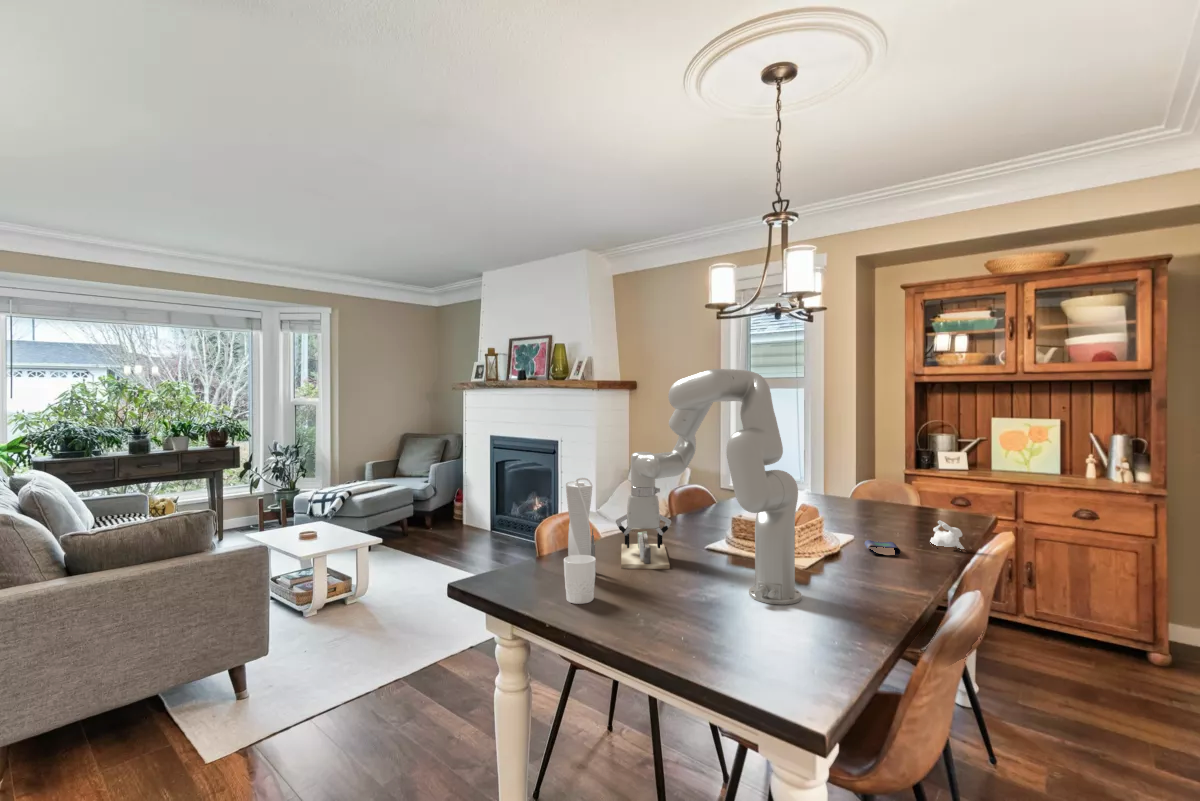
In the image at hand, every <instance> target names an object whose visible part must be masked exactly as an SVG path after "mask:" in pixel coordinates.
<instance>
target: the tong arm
mask: <svg viewBox="0 0 1200 801" xmlns="http://www.w3.org/2000/svg"><path fill="white" fill-rule="evenodd" d="M637 544H638V548H639V556H640V561H644V542H643V531H640V532H639V531H638V532H637Z"/></svg>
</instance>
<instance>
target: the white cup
mask: <svg viewBox="0 0 1200 801" xmlns="http://www.w3.org/2000/svg"><path fill="white" fill-rule="evenodd" d="M596 560H597V559H596V556H595V557H593V556H589V555H572V556H566V557H564V558H563V571H564V572H563V574H564V584H565V585H564V587H565V598H566V601H567V602H568V603H570V604H571V603H572V604H575V605H576V604H577V605H578V604H579V605H582V604H588V603H591V602H592V601H593V600H594V599H595V598H594V597H595V585H596V583H595V582H596V579H595V564H596V565H597V561H596Z"/></svg>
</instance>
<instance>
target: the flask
mask: <svg viewBox="0 0 1200 801" xmlns="http://www.w3.org/2000/svg"><path fill="white" fill-rule="evenodd" d="M864 546H865V547H866V549H867V550H868V551H869V552H870V553H871V554H875V555H877V554H876V552H874V551H873V550H871V549H869V547H876V548H877V547H883V548H884V547H885V548H894V550H895V555H896V556H899V555H901V552H902V550H901V549H900V548H899V546H897V544H896V543H894V542H893V541H879V540H878V541H874V540H870V539H866V540H865V541H864Z"/></svg>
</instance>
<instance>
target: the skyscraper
mask: <svg viewBox="0 0 1200 801" xmlns="http://www.w3.org/2000/svg"><path fill="white" fill-rule="evenodd" d="M585 481H587V482H588V483H589V484H586V483H585ZM565 489H566V490H565V491H566V499H567V501H566V502H567V511H568V518H569V524H568V537H567V538H568V539H567V540H568V541H567V544H568V545H567V551H568V552H567V554H568V556H572V555H589V556H593V557H595V558H596V544H595V535H594V528H592V529H591V526H590V524H591V523H590V520H589V519H590V518H589V516H590V512H591V504H592V503H591V502H592V493H593V484H592V482H591V481H590V479H588V478H586V477H579V478H576V480H575V481H569V482H567V483H565ZM568 556H567V557H568ZM596 577H597V563H596V564H595V580H596V579H597V578H596Z"/></svg>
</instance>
